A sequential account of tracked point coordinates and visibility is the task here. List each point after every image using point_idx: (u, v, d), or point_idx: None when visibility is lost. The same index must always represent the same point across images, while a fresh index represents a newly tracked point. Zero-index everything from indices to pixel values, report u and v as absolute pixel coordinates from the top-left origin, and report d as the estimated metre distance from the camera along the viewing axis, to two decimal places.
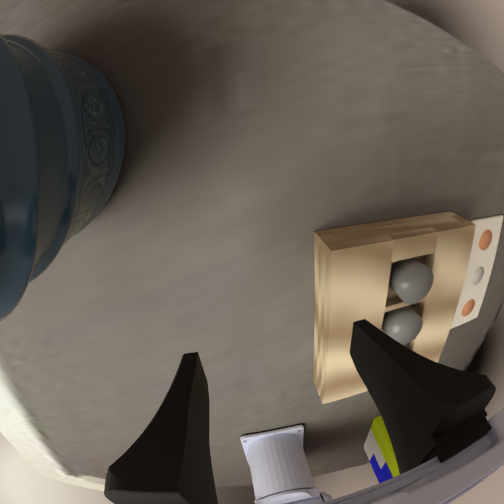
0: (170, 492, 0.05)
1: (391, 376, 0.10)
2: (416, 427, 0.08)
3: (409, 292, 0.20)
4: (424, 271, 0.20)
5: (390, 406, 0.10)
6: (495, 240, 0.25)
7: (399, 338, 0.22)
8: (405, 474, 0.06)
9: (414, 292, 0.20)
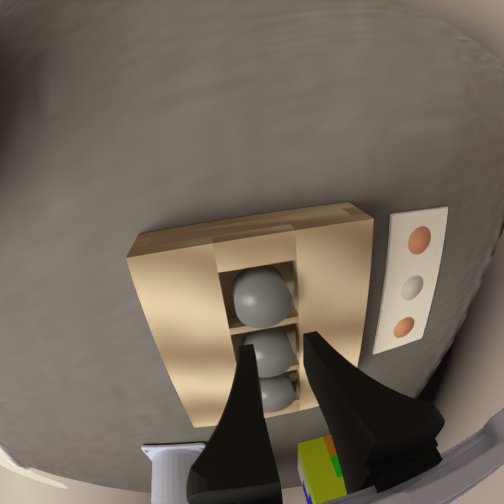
0: (271, 482, 0.05)
1: (333, 394, 0.10)
2: (354, 452, 0.08)
3: (251, 313, 0.17)
4: (269, 286, 0.16)
5: (335, 424, 0.10)
6: (437, 240, 0.22)
7: (259, 368, 0.19)
8: None
9: (260, 313, 0.17)
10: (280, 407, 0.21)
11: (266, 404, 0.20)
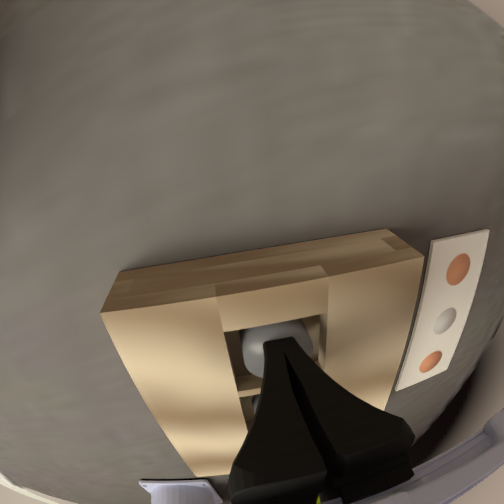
0: (318, 472, 0.05)
1: (304, 402, 0.09)
2: None
3: (263, 363, 0.13)
4: (286, 334, 0.12)
5: None
6: (475, 268, 0.17)
7: None
8: None
9: None
10: None
11: None
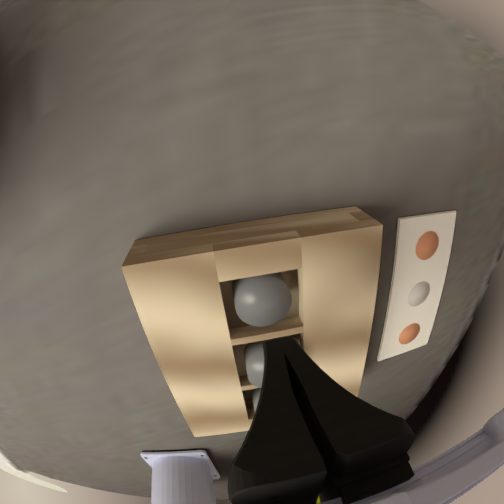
0: (318, 472, 0.05)
1: (304, 402, 0.09)
2: None
3: (250, 311, 0.17)
4: (269, 284, 0.16)
5: None
6: (445, 245, 0.21)
7: (262, 380, 0.18)
8: None
9: (260, 311, 0.17)
10: None
11: None
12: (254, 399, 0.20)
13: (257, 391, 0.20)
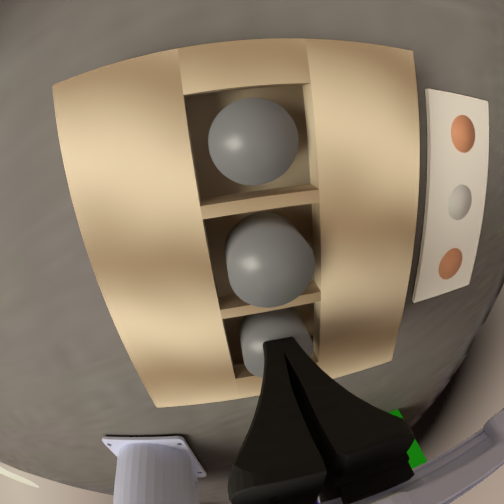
0: (318, 472, 0.05)
1: (304, 402, 0.09)
2: None
3: (233, 153, 0.10)
4: (261, 106, 0.10)
5: None
6: (482, 141, 0.14)
7: (253, 286, 0.11)
8: None
9: (248, 155, 0.10)
10: None
11: None
12: (242, 336, 0.13)
13: (248, 322, 0.14)
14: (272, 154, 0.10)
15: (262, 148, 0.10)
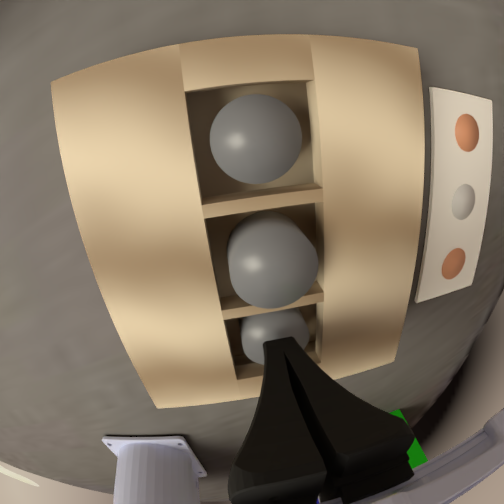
0: (318, 472, 0.05)
1: (304, 402, 0.09)
2: None
3: (235, 151, 0.10)
4: (264, 103, 0.09)
5: None
6: (486, 140, 0.14)
7: (255, 287, 0.11)
8: None
9: (251, 153, 0.10)
10: None
11: None
12: (241, 323, 0.14)
13: None
14: (275, 152, 0.10)
15: (265, 146, 0.10)
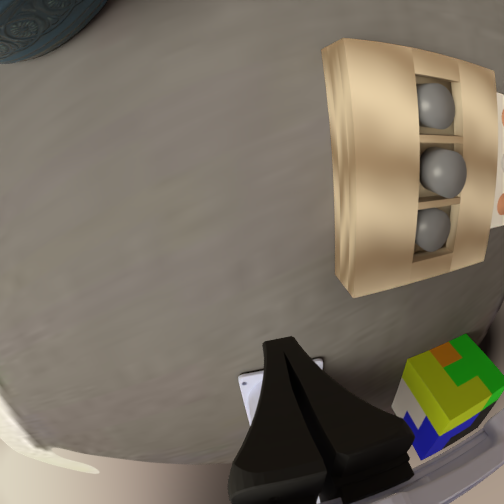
0: (318, 472, 0.05)
1: (304, 402, 0.09)
2: None
3: (432, 110, 0.15)
4: (442, 89, 0.14)
5: None
6: None
7: (444, 183, 0.16)
8: None
9: (437, 112, 0.15)
10: (437, 244, 0.19)
11: (429, 237, 0.19)
12: None
13: None
14: (446, 114, 0.15)
15: (442, 110, 0.15)
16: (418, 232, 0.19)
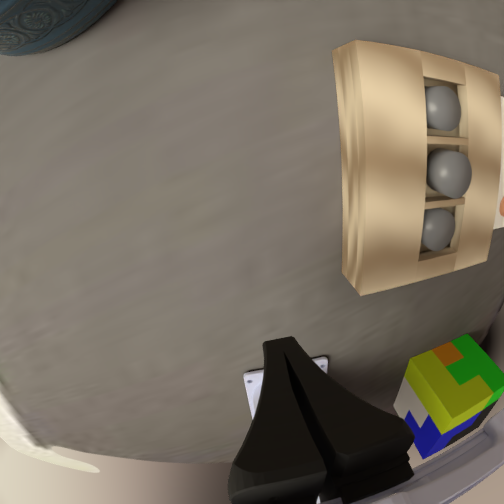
0: (318, 472, 0.05)
1: (304, 402, 0.09)
2: None
3: (439, 112, 0.15)
4: (449, 92, 0.15)
5: None
6: None
7: (450, 183, 0.16)
8: None
9: (444, 115, 0.15)
10: (442, 243, 0.19)
11: (434, 237, 0.19)
12: None
13: None
14: (452, 116, 0.15)
15: (449, 112, 0.15)
16: (424, 231, 0.19)
